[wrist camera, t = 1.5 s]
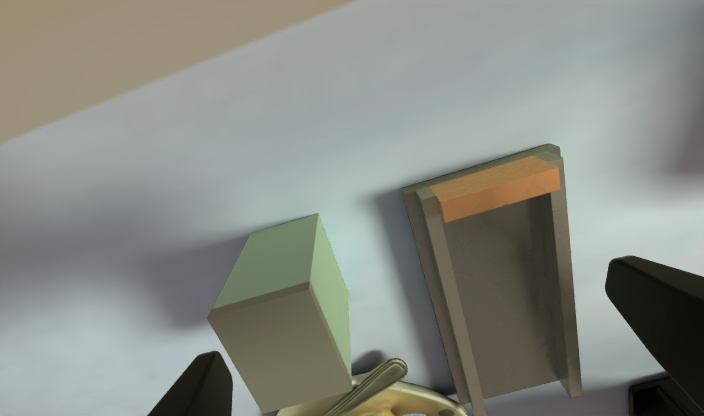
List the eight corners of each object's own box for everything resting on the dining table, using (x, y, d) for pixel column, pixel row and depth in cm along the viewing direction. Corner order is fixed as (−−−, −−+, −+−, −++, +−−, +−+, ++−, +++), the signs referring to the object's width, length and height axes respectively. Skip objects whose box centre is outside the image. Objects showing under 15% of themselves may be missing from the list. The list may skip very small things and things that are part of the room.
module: (347, 290, 24) (352, 390, 17) (285, 307, 25) (262, 414, 17) (318, 213, 22) (308, 289, 15) (250, 233, 22) (207, 318, 15)
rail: (570, 364, 27) (601, 405, 24) (456, 393, 28) (472, 436, 25) (550, 143, 21) (589, 158, 18) (400, 188, 21) (412, 210, 18)
